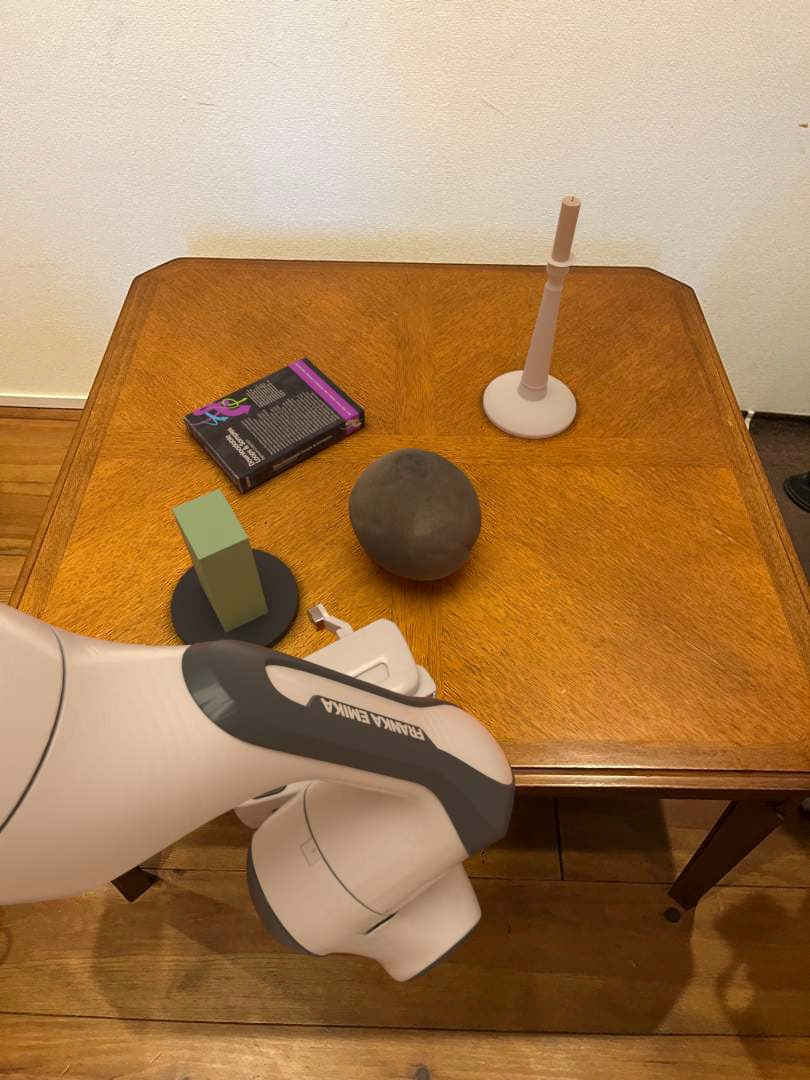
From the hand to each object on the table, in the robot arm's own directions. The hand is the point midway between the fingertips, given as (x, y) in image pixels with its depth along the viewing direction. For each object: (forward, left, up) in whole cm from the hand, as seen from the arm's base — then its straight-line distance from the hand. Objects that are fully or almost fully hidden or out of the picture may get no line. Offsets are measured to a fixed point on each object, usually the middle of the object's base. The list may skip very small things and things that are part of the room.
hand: (267, 632), depth 67 cm
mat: (+4, +11, -12) cm, 17 cm away
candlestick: (+52, +4, -13) cm, 54 cm away
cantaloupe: (+22, 0, -13) cm, 25 cm away
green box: (+4, +11, -11) cm, 16 cm away
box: (+26, +27, -13) cm, 40 cm away
